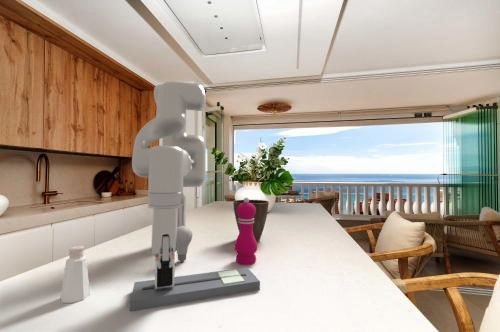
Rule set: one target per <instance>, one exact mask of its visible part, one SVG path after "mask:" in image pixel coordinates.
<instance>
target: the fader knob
mask: <svg viewBox="0 0 500 332" xmlns="http://www.w3.org/2000/svg"><path fill="white" fill-rule="evenodd" d="M169 252H170V251H169ZM160 253H163V251H161V252H160ZM158 254H159V252H158ZM158 254H155V259H154V260H155V262H154V263H155V265H154V268H155V269H154V280H155V289H161V288H168V287H174V277H175V267H176V266H175V261H176V260H175V259H176V256H175V252H174V253H173V254H172V266H173V283H172V285H171V286H165V287H157V268H158V262H159V256H158ZM161 258H162V256H161Z"/></svg>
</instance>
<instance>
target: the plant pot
mask: <svg viewBox="0 0 500 332" xmlns="http://www.w3.org/2000/svg"><path fill="white" fill-rule="evenodd" d="M269 202H270V201H269V200H262V199H249V202H248V203H251V204H253V205H254V206H255V209H256V213H255V215H254V216H253V218H254V223H253V226H252V230H253V234H254V237H255V239H256V242H257V243H258V242H260V240H261V237H262V236H263V233H264V228H265V225H266V220H267V216H268V210H269V205H270V203H269ZM232 203H233V211H234V216H235V221H236V226H237V230H238V233H239V232H240V223H239V222H238V221H239V220H238V218H240V217H239V216H238V214H237V207H238V206H239V205H240V204H241V203H244V199H237V200H233V201H232Z"/></svg>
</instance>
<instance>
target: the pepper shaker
mask: <svg viewBox="0 0 500 332" xmlns="http://www.w3.org/2000/svg"><path fill="white" fill-rule="evenodd" d="M84 250H85V246H83V245H76V246H75V245H74V246H72V247H70V248H69V249H68V251H69V253H68V256H69V257H68V258H67V259H66V261H65V265H64V266H65V267H64V273H63V280H62V286H61V293H60V298H59V299H60V301H61V303H62V304H73V303H77V302H80V301H84V300H85V299H86V298H87V297H89V296H90V295H91V293H90V283H89V271H88V262H87V257H86V256H85V255H84V253H85V252H84Z"/></svg>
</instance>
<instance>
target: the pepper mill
mask: <svg viewBox="0 0 500 332" xmlns="http://www.w3.org/2000/svg"><path fill="white" fill-rule="evenodd" d="M243 200H244V203H241V204H240V205H239V206H238V207H237V214H238V216H239V217H240V218H238V220H239V221H238V222H239V223H240V232H239V231H238V234H237V235H238V236H237V238H236V240H235V242H234V251H235V253H236V255H235V262H236V263H237V264H239V265H245V266H246V265H247V266H248V265H253V264H255V263H256V262H257V255H256V253H257V251H258V241H257V242H256V239H255V237H254V234H253V230H252V226H253V223H254V218H253V216H254V215H255V213H256V209H255V206H254V205H253V204H251V203H248V202H249V200H250V198H248V197H244V199H243Z"/></svg>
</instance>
